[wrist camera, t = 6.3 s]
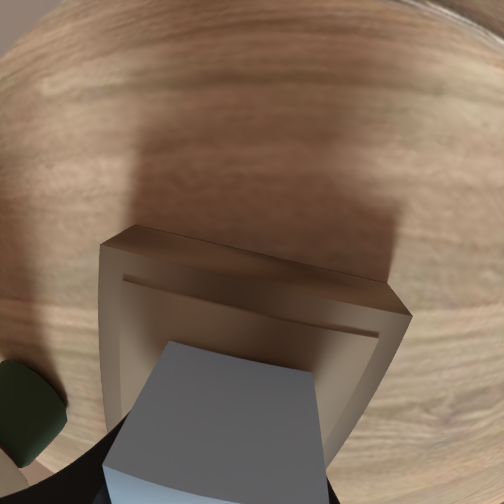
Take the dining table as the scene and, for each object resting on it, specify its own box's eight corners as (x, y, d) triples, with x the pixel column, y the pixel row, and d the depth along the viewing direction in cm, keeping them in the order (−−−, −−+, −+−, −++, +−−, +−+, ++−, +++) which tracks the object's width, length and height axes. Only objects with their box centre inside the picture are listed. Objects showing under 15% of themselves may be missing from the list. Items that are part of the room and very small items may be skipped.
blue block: (312, 372, 10) (330, 510, 5) (275, 456, 12) (270, 565, 6) (168, 340, 10) (102, 464, 5) (161, 431, 12) (121, 534, 7)
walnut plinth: (387, 283, 13) (414, 318, 10) (310, 447, 16) (312, 489, 13) (134, 225, 13) (98, 245, 10) (127, 406, 16) (107, 443, 13)
